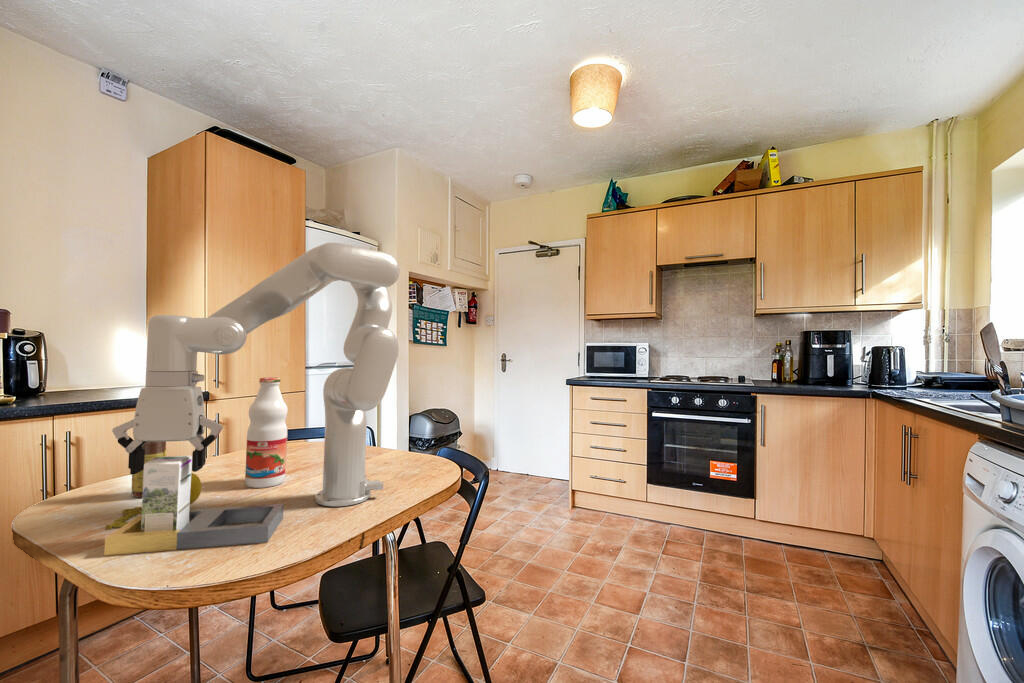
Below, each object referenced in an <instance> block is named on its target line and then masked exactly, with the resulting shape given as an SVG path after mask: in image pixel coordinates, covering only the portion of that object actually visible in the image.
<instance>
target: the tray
mask: <svg viewBox="0 0 1024 683" xmlns="http://www.w3.org/2000/svg"><path fill="white" fill-rule="evenodd" d="M141 519H142V514H139V515H138V516H135V518H133V519H132V520H130V521H128V523H127V524H126V525H124V526H123V527H119V528H118V529H117V530H115V531H113V532H112V533H111V534H109V535H107V536H106V537H105V538H104V552H103V554H104V557H105V556H106V557H107V556H116V555H118V556H119V555H130V554H144V553H156V552H166V551H168V552H169V551H179V550H180V551H182V550H192V549H193V550H194V549H201V548H202V549H205V548H206V549H207V548H214V547H215V548H216V547H217V548H218V547H227V546H239V545H253V544H264V543H268V542H269V541H270V539H271V538H272V536H273V534H274V533H275V532H276V530H277V528H278V526H279V525H280V524H281V522H282V520H283V519H284V503H275V504H273V503H272V504H260V505H242V506H224V507H210V508H196V509H195V508H193V509H189V523H188V524H187V525H186V526H185V527H183V528H182V529H180V530H166V531H152V532H141Z"/></svg>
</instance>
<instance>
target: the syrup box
mask: <svg viewBox="0 0 1024 683" xmlns="http://www.w3.org/2000/svg"><path fill="white" fill-rule="evenodd" d="M191 473H192V455H175V456H173V455H172V456H171V455H170V456H167V455H166V457H156V458H154V459H152V460H150V461H148V462H147V463H145V464H144V474H143V496H142V497H141V499H142V500H141V501H142V502H141V504H142V505H141V507H142V519H141V532H152V531H166V530H180V529H182V528H183V527H185V526H186V525H187V524H188V523H189V510H190V505H191V504H190V488H191Z"/></svg>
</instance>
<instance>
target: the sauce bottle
mask: <svg viewBox="0 0 1024 683" xmlns="http://www.w3.org/2000/svg"><path fill="white" fill-rule="evenodd" d="M142 449H144V450H145V459H144V464H145V463H147V462H148V461H150V460H152V459H154V458H156V457H167V441H166V442H146V443H145V444H144V445H143V446H142ZM143 474H144V470H142V471H140V472H138V473H136V474H131V492H132V496H133V497H134V498H142V496H143Z"/></svg>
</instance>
